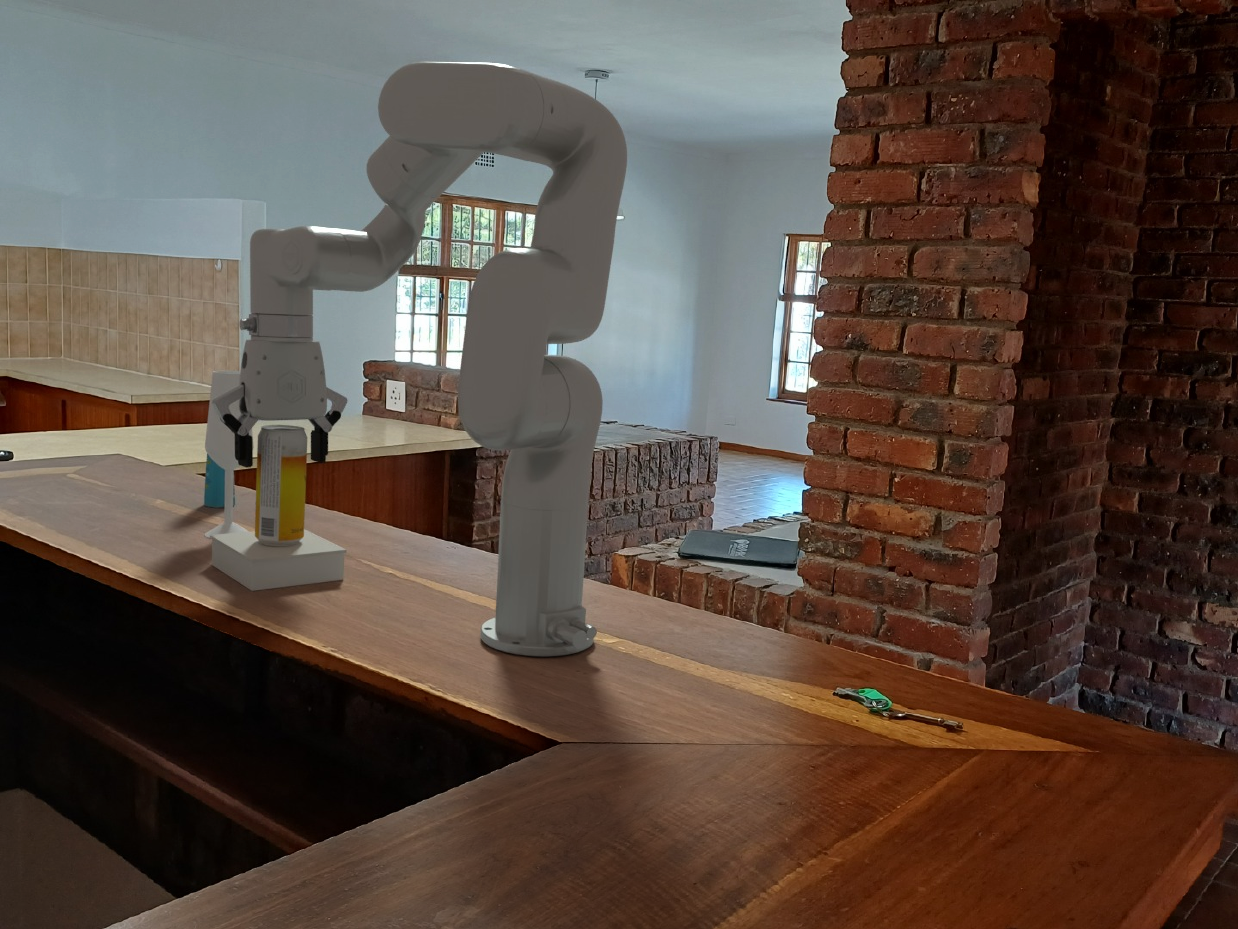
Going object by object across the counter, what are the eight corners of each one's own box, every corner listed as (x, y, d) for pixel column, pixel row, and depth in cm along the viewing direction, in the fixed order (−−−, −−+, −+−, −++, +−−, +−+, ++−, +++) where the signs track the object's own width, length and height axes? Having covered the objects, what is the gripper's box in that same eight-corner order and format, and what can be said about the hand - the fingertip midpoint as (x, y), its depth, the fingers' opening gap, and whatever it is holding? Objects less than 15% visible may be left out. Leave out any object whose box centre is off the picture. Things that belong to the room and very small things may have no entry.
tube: (201, 501, 183) (201, 387, 180) (231, 500, 185) (232, 387, 182) (207, 510, 176) (208, 391, 173) (238, 509, 178) (240, 392, 176)
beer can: (310, 539, 144) (314, 427, 142) (292, 549, 138) (297, 432, 136) (266, 535, 145) (269, 423, 142) (246, 544, 139) (250, 427, 136)
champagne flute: (202, 539, 157) (203, 373, 153) (206, 529, 163) (207, 369, 159) (251, 539, 158) (253, 375, 155) (253, 529, 165) (255, 371, 161)
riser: (345, 579, 141) (346, 549, 140) (251, 591, 133) (251, 559, 132) (299, 555, 151) (300, 527, 151) (209, 564, 144) (210, 535, 143)
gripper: (223, 329, 129) (225, 472, 131) (358, 331, 140) (358, 463, 142) (202, 326, 135) (204, 464, 137) (333, 329, 146) (333, 456, 148)
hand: (282, 463), depth 140 cm, fingers open, 9 cm apart
